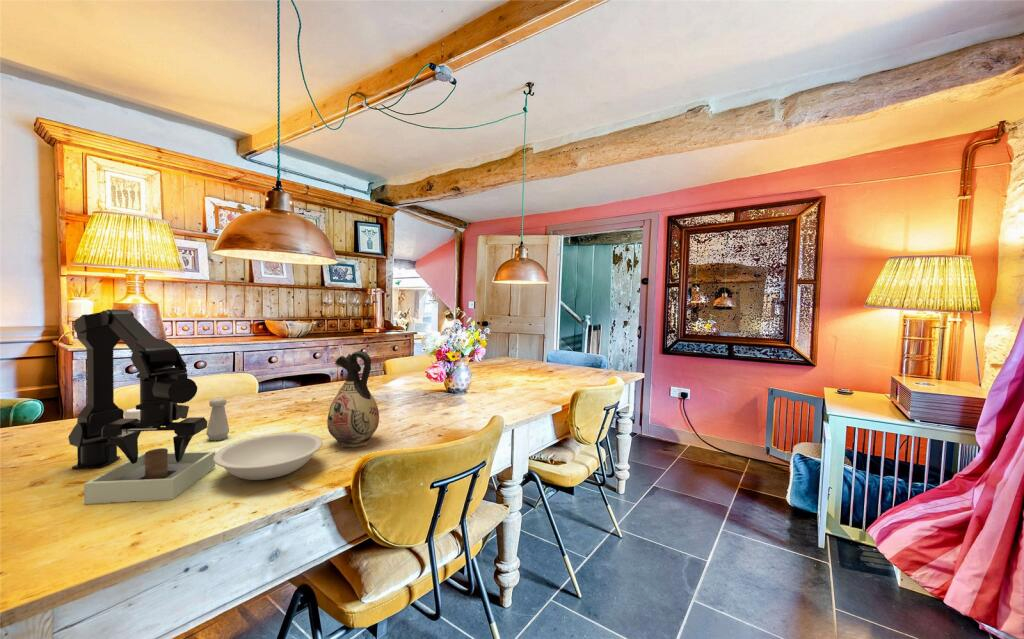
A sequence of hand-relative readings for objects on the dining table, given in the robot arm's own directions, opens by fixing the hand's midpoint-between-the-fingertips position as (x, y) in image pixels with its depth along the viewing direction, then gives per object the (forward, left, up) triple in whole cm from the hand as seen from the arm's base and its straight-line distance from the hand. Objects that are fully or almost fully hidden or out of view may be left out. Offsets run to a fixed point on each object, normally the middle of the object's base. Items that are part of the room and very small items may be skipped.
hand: (156, 462), depth 92 cm
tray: (0, 0, -5) cm, 5 cm away
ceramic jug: (+40, +23, -6) cm, 47 cm away
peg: (0, 0, -5) cm, 5 cm away
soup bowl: (+23, +4, -6) cm, 24 cm away
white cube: (-32, +42, -6) cm, 53 cm away
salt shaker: (-3, +31, -6) cm, 32 cm away
